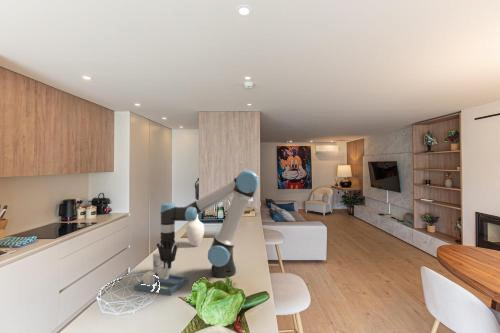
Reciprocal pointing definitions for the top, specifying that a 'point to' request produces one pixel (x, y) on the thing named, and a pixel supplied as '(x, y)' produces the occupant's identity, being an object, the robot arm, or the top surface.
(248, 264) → the top surface
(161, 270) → the tab
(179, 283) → the switch board
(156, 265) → the ink box
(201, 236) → the vase
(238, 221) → the robot arm
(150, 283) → the tab
